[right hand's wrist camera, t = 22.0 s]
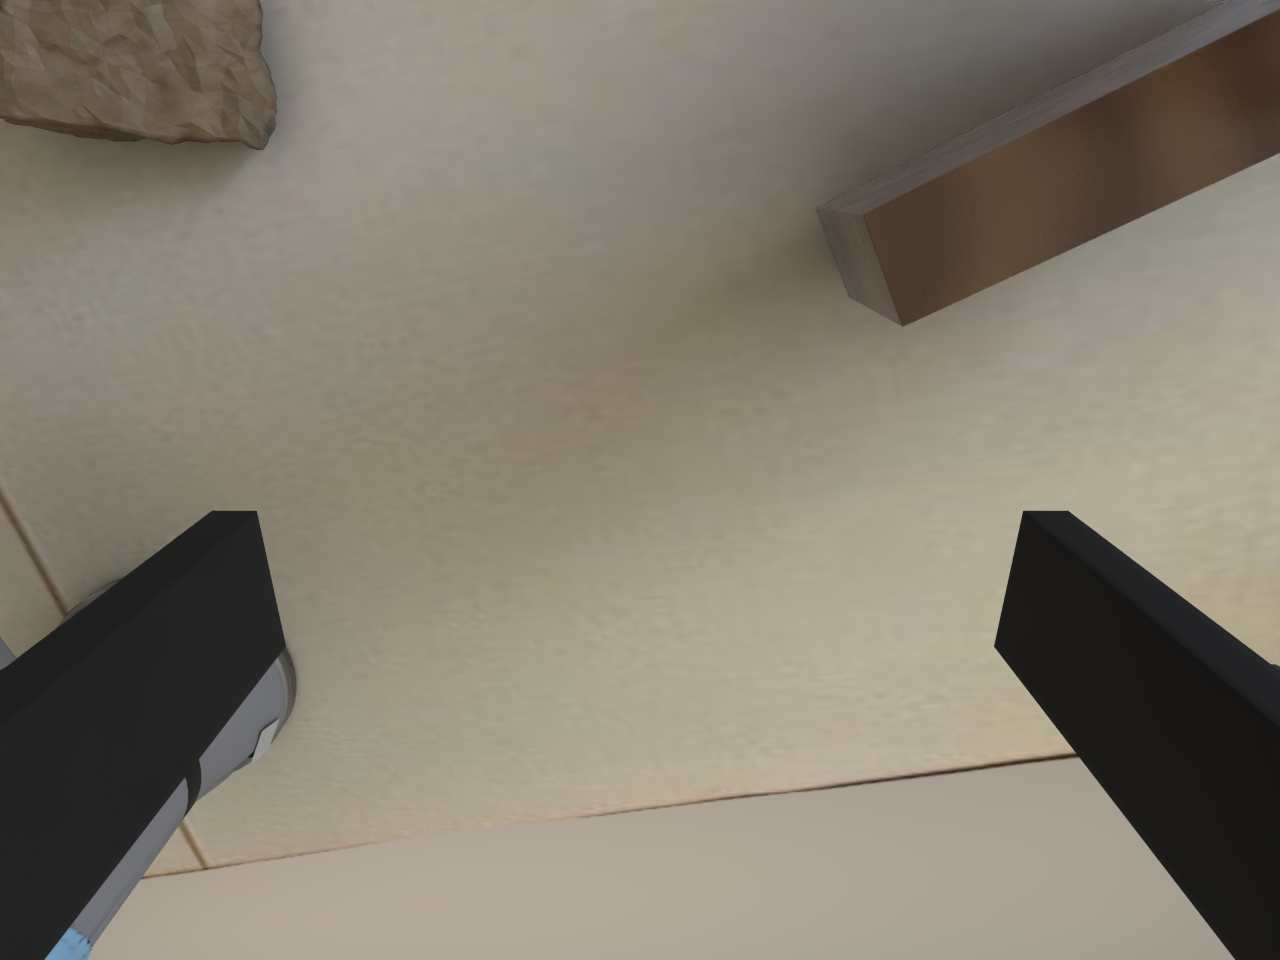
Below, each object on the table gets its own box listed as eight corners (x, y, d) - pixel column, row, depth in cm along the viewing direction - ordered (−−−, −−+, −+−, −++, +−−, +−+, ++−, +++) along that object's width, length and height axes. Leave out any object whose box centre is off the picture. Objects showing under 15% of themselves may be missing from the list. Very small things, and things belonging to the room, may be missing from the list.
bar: (848, 297, 39) (902, 327, 31) (815, 208, 37) (862, 214, 29) (1376, 46, 34) (1603, 4, 26) (1364, -68, 33) (1603, -151, 25)
